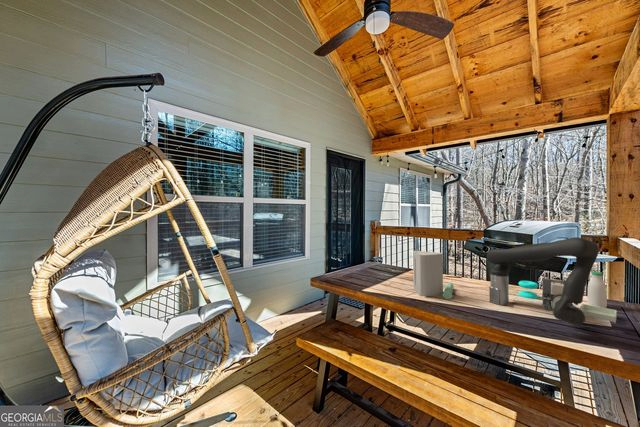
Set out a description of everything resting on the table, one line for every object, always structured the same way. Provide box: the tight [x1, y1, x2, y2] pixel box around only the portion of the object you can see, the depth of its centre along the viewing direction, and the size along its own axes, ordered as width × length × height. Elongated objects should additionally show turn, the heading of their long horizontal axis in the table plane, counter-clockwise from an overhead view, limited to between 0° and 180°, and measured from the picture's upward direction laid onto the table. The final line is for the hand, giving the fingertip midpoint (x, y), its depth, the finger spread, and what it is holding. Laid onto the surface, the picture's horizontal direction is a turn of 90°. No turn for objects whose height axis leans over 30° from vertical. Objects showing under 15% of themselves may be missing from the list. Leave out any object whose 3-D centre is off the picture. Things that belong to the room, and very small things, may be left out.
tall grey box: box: [412, 250, 444, 297], centre depth 182 cm, size 19×15×28 cm
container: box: [442, 282, 454, 300], centre depth 183 cm, size 6×6×25 cm
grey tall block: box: [551, 279, 564, 309], centre depth 150 cm, size 6×5×16 cm
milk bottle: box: [587, 270, 608, 308], centre depth 154 cm, size 8×8×20 cm
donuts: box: [518, 280, 539, 300], centre depth 171 cm, size 10×10×10 cm
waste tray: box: [579, 303, 618, 324], centre depth 141 cm, size 13×13×4 cm
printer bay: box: [542, 277, 566, 312], centre depth 150 cm, size 12×12×16 cm
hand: (557, 294), depth 149 cm, fingers open, 8 cm apart
